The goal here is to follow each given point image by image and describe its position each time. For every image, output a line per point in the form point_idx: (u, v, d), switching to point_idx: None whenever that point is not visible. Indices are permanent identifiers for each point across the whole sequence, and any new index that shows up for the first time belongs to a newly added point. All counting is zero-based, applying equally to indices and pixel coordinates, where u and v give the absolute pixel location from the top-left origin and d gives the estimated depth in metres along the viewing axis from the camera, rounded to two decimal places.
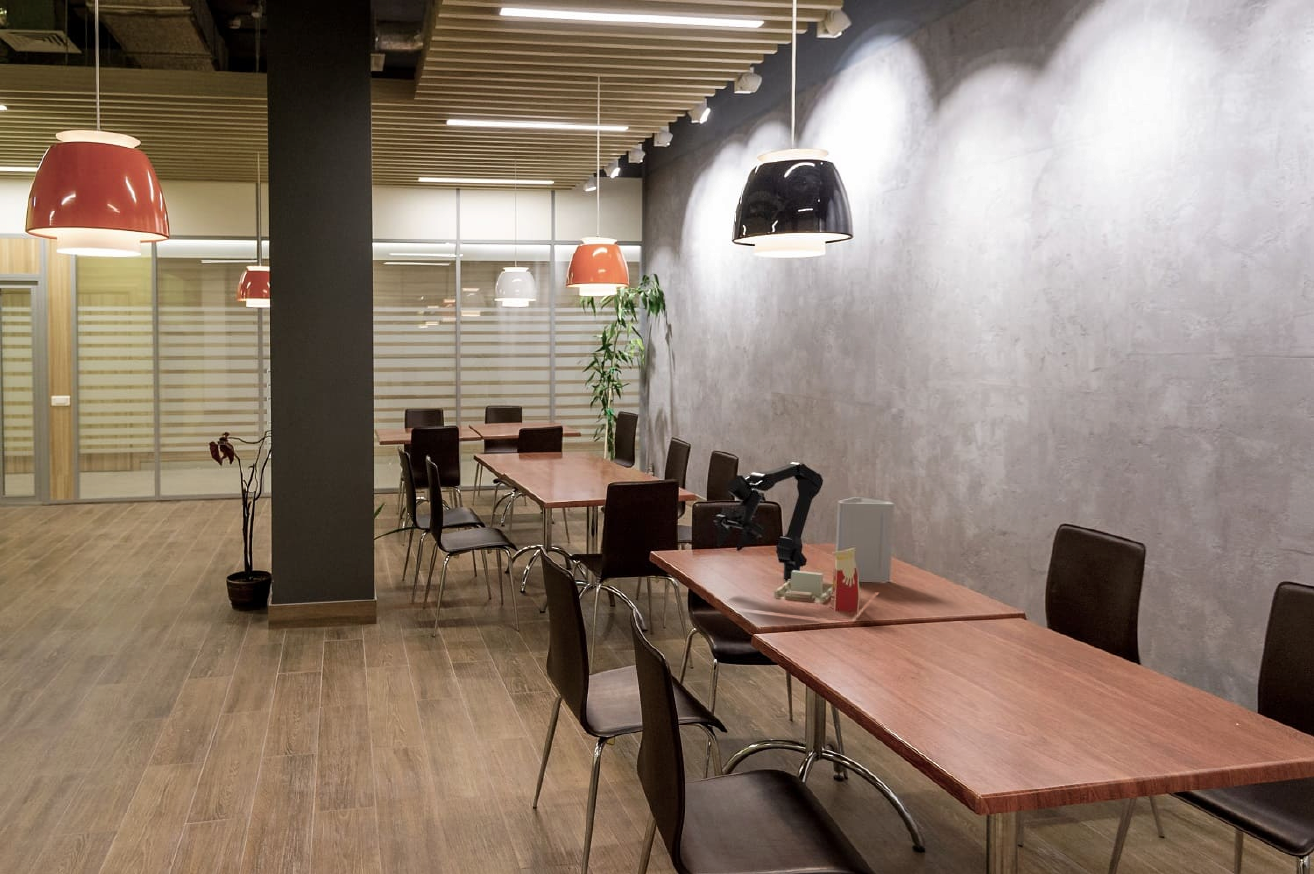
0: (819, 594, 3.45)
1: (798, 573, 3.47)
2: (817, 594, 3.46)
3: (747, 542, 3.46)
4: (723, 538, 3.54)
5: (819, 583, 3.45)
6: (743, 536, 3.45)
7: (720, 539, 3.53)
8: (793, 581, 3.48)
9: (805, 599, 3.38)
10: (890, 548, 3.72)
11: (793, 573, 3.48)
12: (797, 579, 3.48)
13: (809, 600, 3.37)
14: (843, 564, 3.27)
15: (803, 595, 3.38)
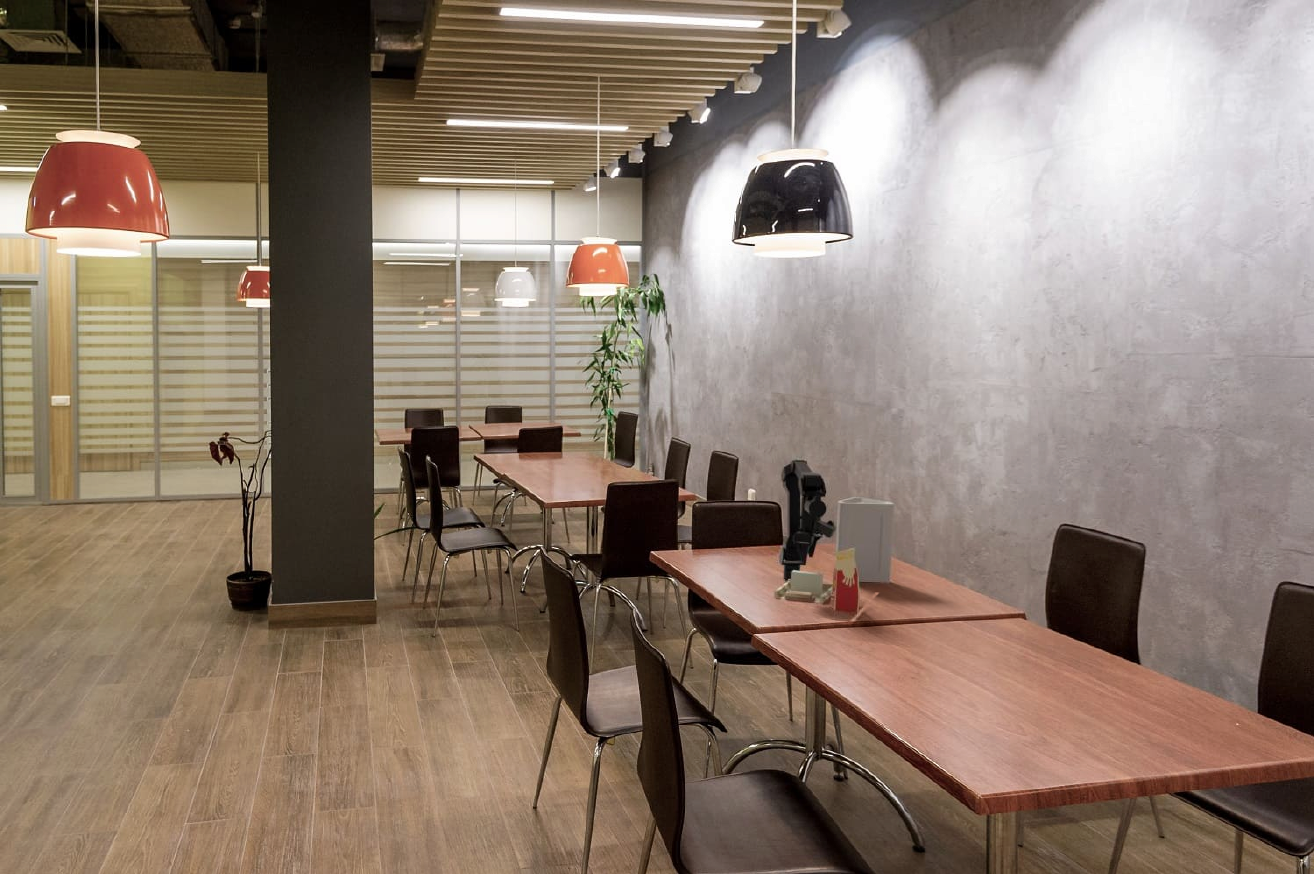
0: (819, 594, 3.45)
1: (798, 573, 3.47)
2: (817, 594, 3.46)
3: None
4: None
5: (819, 583, 3.45)
6: (816, 543, 3.52)
7: None
8: (793, 581, 3.48)
9: (805, 599, 3.38)
10: (890, 548, 3.72)
11: (793, 573, 3.48)
12: (797, 579, 3.48)
13: (809, 600, 3.37)
14: (843, 564, 3.27)
15: (803, 595, 3.38)
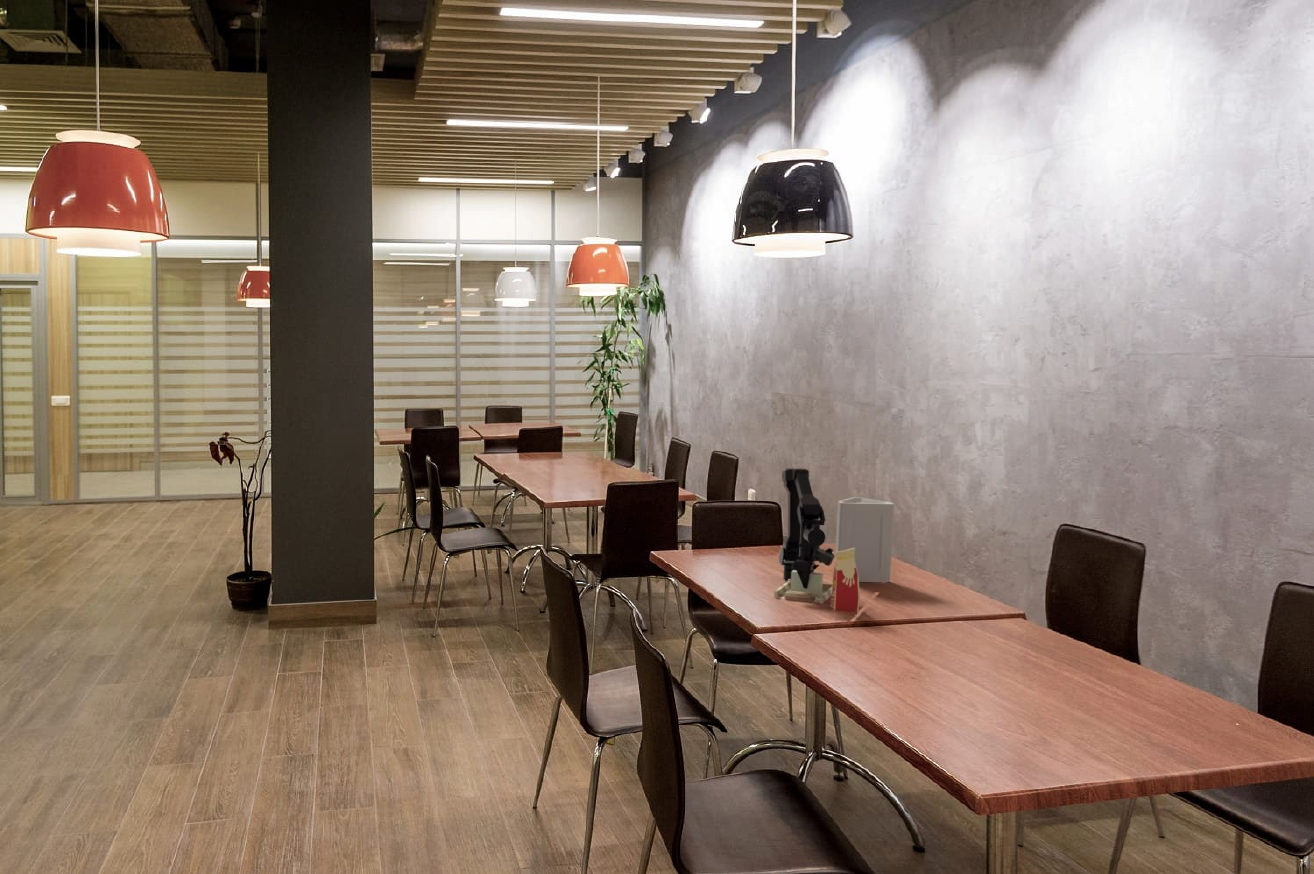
0: (819, 594, 3.45)
1: None
2: (817, 594, 3.46)
3: None
4: None
5: (819, 583, 3.45)
6: None
7: None
8: (793, 581, 3.48)
9: (805, 599, 3.38)
10: (890, 548, 3.72)
11: (793, 573, 3.48)
12: (797, 579, 3.48)
13: (809, 600, 3.37)
14: (843, 564, 3.27)
15: (803, 595, 3.38)
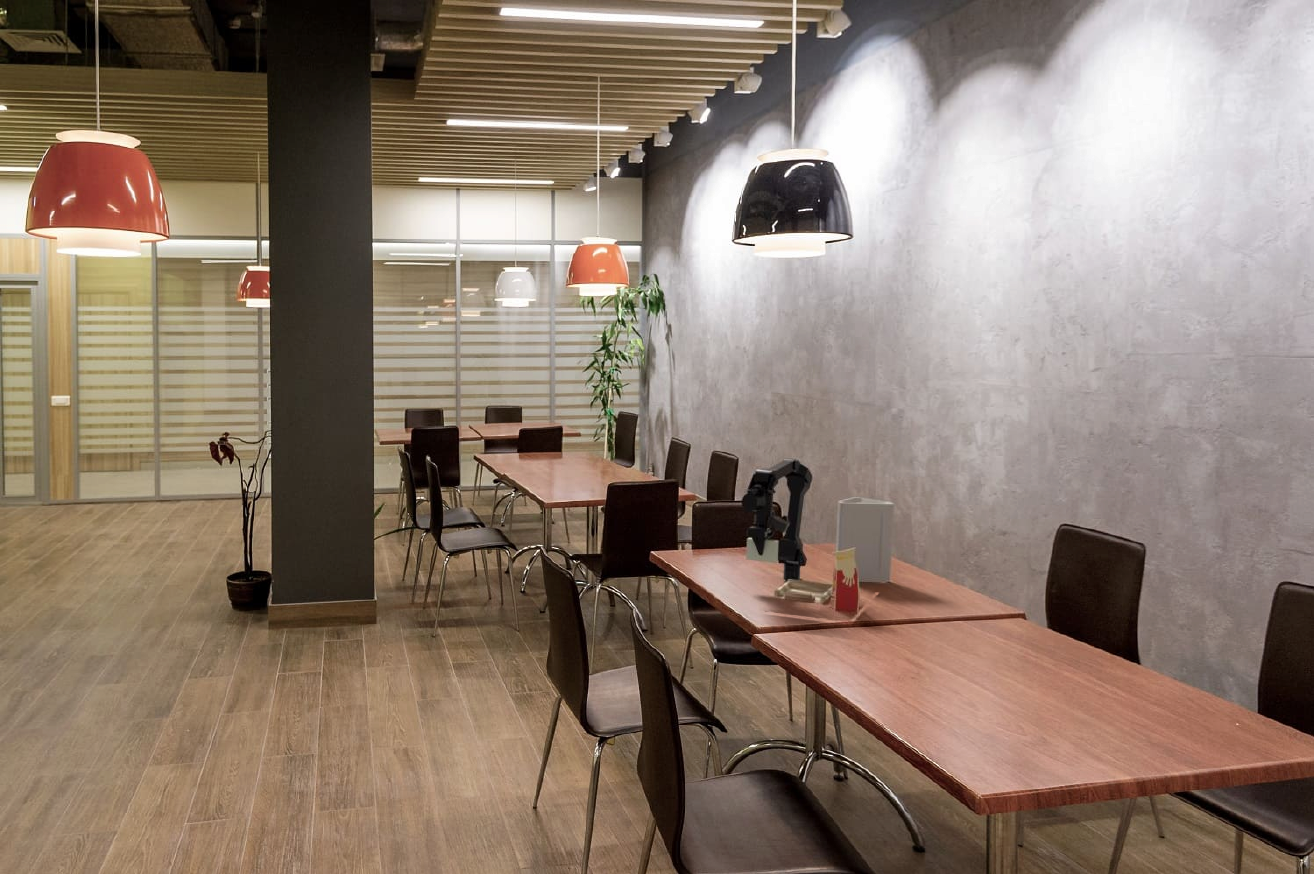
0: (774, 561, 3.48)
1: None
2: (772, 561, 3.48)
3: None
4: None
5: (774, 550, 3.47)
6: (768, 539, 3.52)
7: None
8: (749, 549, 3.50)
9: (805, 599, 3.38)
10: (890, 548, 3.72)
11: (749, 540, 3.50)
12: (753, 546, 3.50)
13: (809, 600, 3.37)
14: (843, 564, 3.27)
15: (803, 595, 3.38)
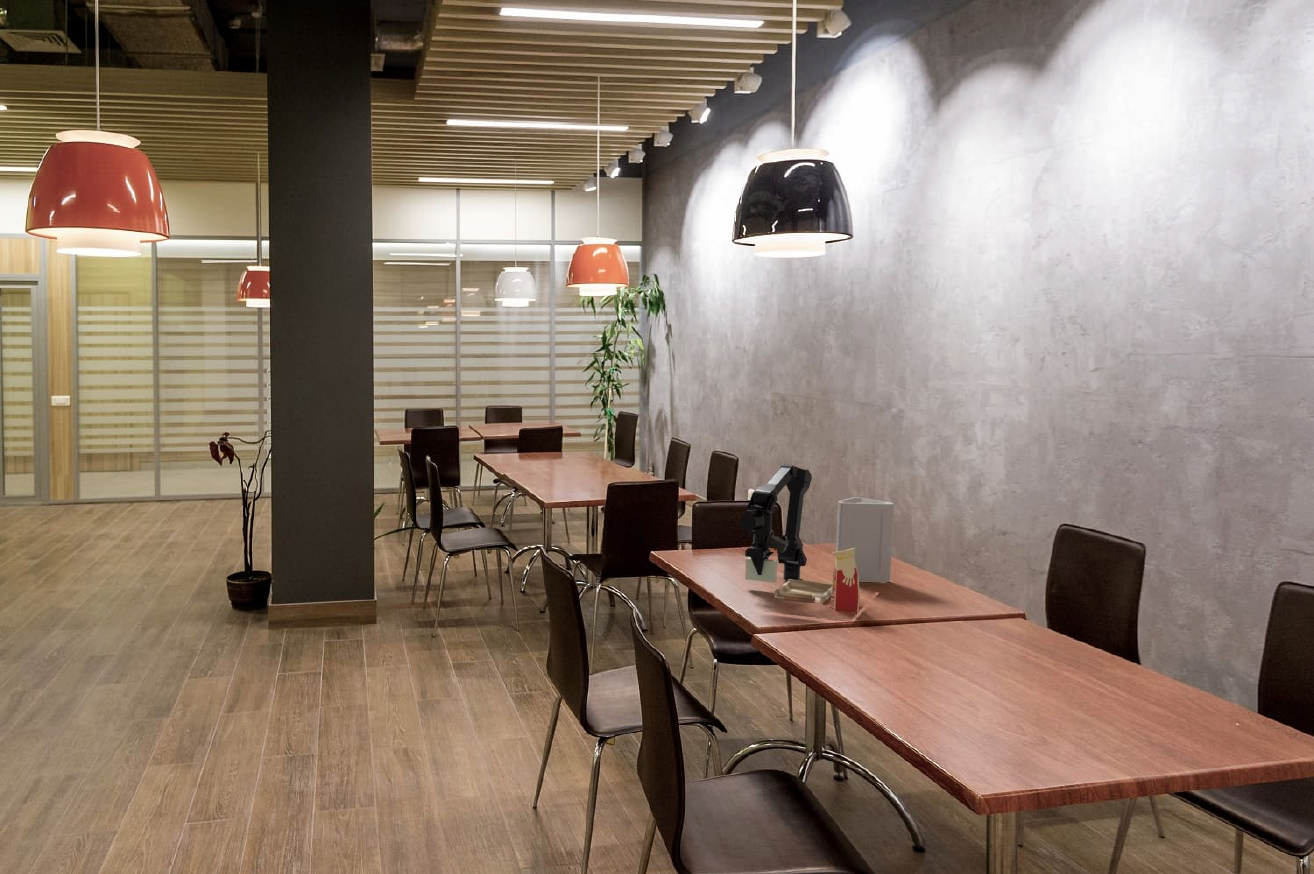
0: (773, 581, 3.48)
1: None
2: (771, 581, 3.48)
3: None
4: None
5: (773, 570, 3.48)
6: None
7: None
8: (748, 568, 3.51)
9: (805, 599, 3.38)
10: (890, 548, 3.72)
11: (748, 560, 3.51)
12: (752, 566, 3.51)
13: (809, 600, 3.37)
14: (843, 564, 3.27)
15: (803, 595, 3.38)
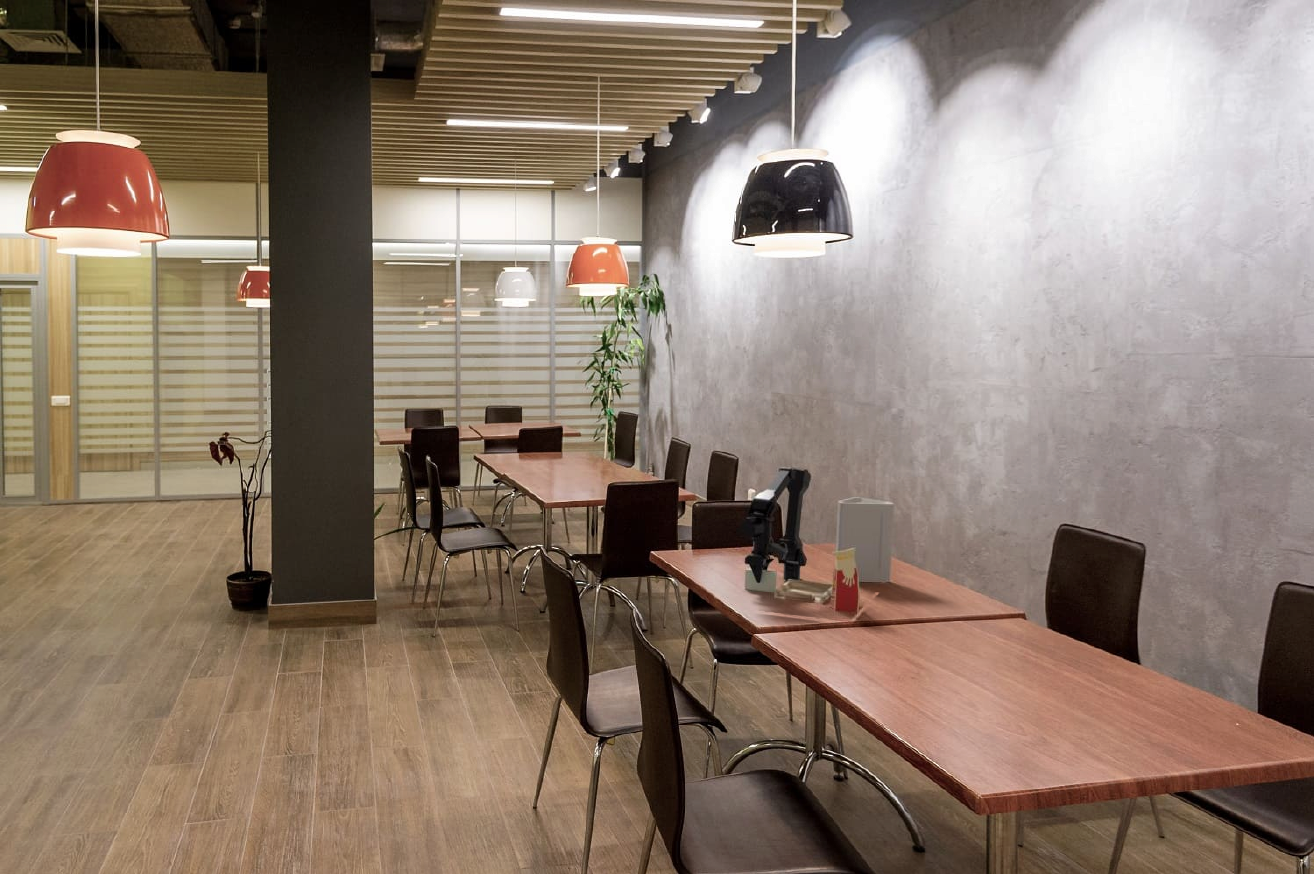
0: None
1: None
2: None
3: None
4: None
5: (772, 581, 3.48)
6: (767, 566, 3.53)
7: None
8: (747, 579, 3.51)
9: (805, 599, 3.38)
10: (890, 548, 3.72)
11: (747, 571, 3.51)
12: (751, 577, 3.51)
13: (809, 600, 3.37)
14: (843, 564, 3.27)
15: (803, 595, 3.38)
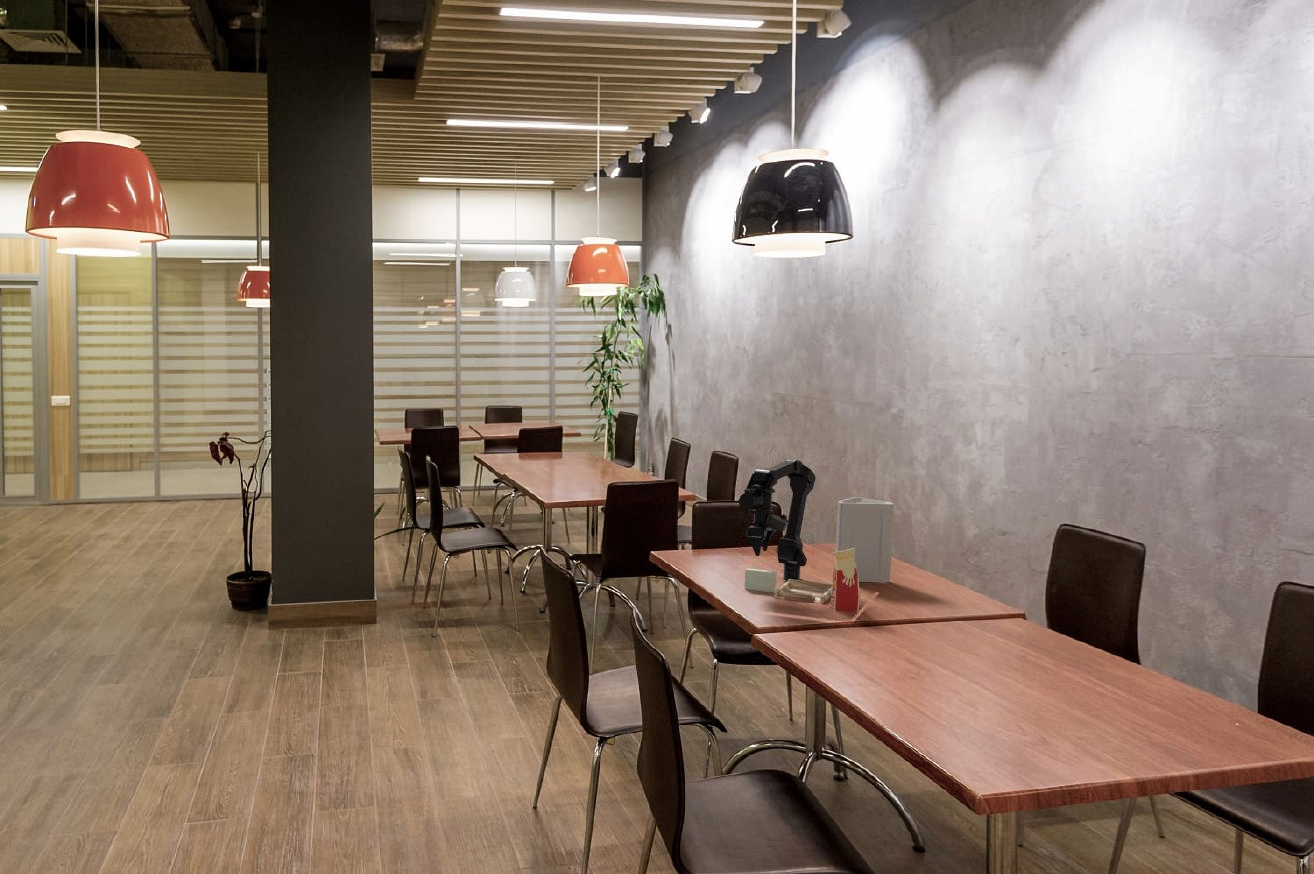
0: None
1: (752, 571, 3.51)
2: None
3: None
4: None
5: (772, 581, 3.48)
6: None
7: None
8: (747, 579, 3.51)
9: (805, 599, 3.38)
10: (890, 548, 3.72)
11: (747, 571, 3.51)
12: (751, 577, 3.51)
13: (809, 600, 3.37)
14: (843, 564, 3.27)
15: (803, 595, 3.38)
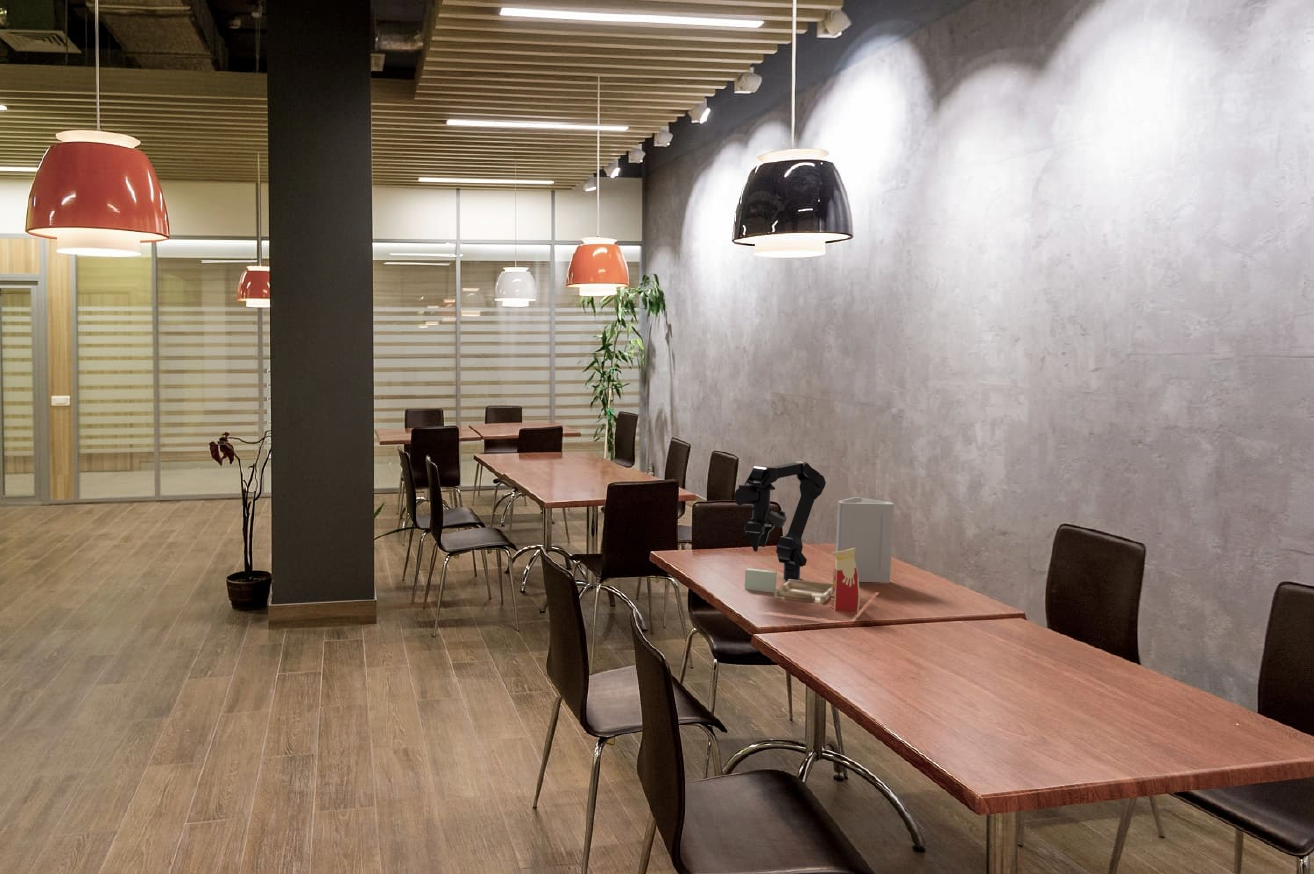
0: None
1: (752, 571, 3.51)
2: None
3: None
4: None
5: (772, 581, 3.48)
6: (768, 533, 3.63)
7: None
8: (747, 579, 3.51)
9: (805, 599, 3.38)
10: (890, 548, 3.72)
11: (747, 571, 3.51)
12: (751, 577, 3.51)
13: (809, 600, 3.37)
14: (843, 564, 3.27)
15: (803, 595, 3.38)
